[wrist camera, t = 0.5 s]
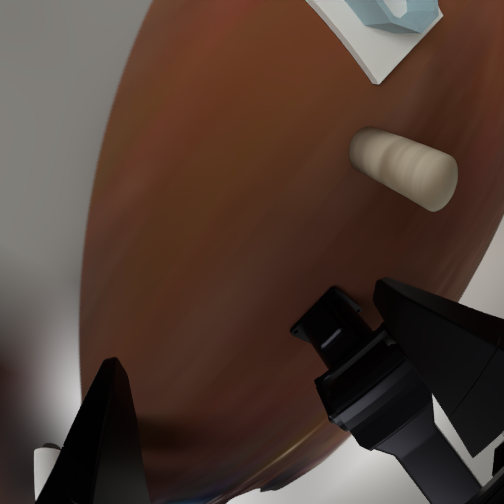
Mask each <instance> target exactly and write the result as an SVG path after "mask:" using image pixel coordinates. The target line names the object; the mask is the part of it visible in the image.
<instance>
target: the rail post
mask: <svg viewBox="0 0 504 504" xmlns="http://www.w3.org/2000/svg"><path fill="white" fill-rule="evenodd" d="M349 158H350V162H351V164H352V166H353V167H354V168H355V169H356V170H357V171H359V172H361V173H363V174H365V175H367V176H369V177H371V178H373V179H375V180H376V181H378V182H380V183H382V184H384V185H386V186H387V187H389V188H391V189H393V190H395V191H396V192H398V193H400V194H402V195H403V196H405V197H407V198H409V199H410V200H412V201H414V202H416V203H417V204H419V205H421V206H422V207H424V208H426V209H427V210H429V211H432V212H435V211H438V210H440V209H442V208H443V207H444V206H445V205H446V204H447V203H448V202H449V200H450V199H451V197H452V195H453V193H454V191H455V188H456V184H457V179H458V168H457V164H456V161H455V159H454V158H453V157H452V156H450V155H448V154H446V153H443V152H441V151H438V150H436V149H433V148H431V147H428V146H426V145H423V144H420V143H418V142H415V141H412V140H410V139H407V138H404V137H401V136H398V135H395V134H393V133H390V132H387V131H383V130H380V129H377V128H374V127H365V128H362V129H361V130H359V131H358V132H357V133H356V134H355V135H354V137H353V138H352V141H351V143H350V147H349Z"/></svg>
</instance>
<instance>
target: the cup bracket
mask: <svg viewBox="0 0 504 504" xmlns="http://www.w3.org/2000/svg"><path fill="white" fill-rule="evenodd" d="M306 1H307V3H308V4H309V5H310V6H311V7H312V8H313V9H314V10H315V11H316V12H317V13H318V15H319V16H320V17H321V18H322V19H323V20H324V21H325V23H326V24H327V25H328V26H329V27H330V28H331V30H332V31H333V32H334V33H335V34H336V36H337V37H338V38H339V39H340V41H341V42H342V43H343V44H344V46H345V47H346V48H347V49H348V51H349V52H350V53H351V55H352V56H353V57H354V59H355V60H356V61H357V63H358V64H359V65H360V67H361V68H362V69H363V71H364V72H365V74H366V75H367V76H368V78H369V79H370V81H371V82H372V84H380V83H381V82H382V81H383V80H384V79H385V77H386V76H387V75H388V74H389V73H390V72H391V71H392V70H393V69H394V68H395V67H396V66H397V65H398V63H399V62H400V61H401V60H402V59H403V58H404V57H405V56H406V55H407V54H408V53H409V52H410V51H411V50H412V48H413V47H414V46H415V45H416V44H417V43H418V42H419V41H420V40H421V39H422V38H423V37H424V36H425V35H426V34H427V33H428V31H429V30H430V29H431V28H432V27H433V26H434V25H435V24H436V23H437V22H438V21H439V20H440V19H441V18H442V17H443V14H442V12H441V11H440V9H439V7H438V0H306Z"/></svg>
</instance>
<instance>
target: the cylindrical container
mask: <svg viewBox="0 0 504 504" xmlns="http://www.w3.org/2000/svg"><path fill="white" fill-rule="evenodd" d="M60 451H61V450H57V449H52V448H39V449H36V450H35V451H34V479H35V496H36V497H35V498H36V500H37V498H38V496H39V494H40V492H41V490H42V488H43V486H44V484H45V483H46V481H47V479H48V477H49V475H50V473H51V471H52V469H53V467H54V464H55V462H56V460H57V458H58V456H59V453H60Z"/></svg>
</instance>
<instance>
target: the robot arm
mask: <svg viewBox="0 0 504 504" xmlns="http://www.w3.org/2000/svg"><path fill="white" fill-rule="evenodd" d="M373 301H374V304H375V306H376V308H377V309H378V311H379V313H380V314H381V316H382V318H383V320H384V322H383V323H382V324H380V327H379V328H377V329H376V330H375V331H373V330H372V329H371V328H370V327H369V326H368V324H367V323H366V322H365V321H364V320H363V319H362V317H361V316H360V315H359V313H360V312H361V311H362V308H361V307H360V306H359V305H358V304H357V303H355V302H354V301H353V300H352V299H350V298H349V297H348V296H346V295H345V294H344V293H343V292H341V291H340V290H339V289H337V288H336V287H331V288H330V289H329V290H328V291H327V292H326V293H325V294H324V295H323V296H322V297H321V298H320V299H319V300H318V302H317V303H316V304H315V305H314V306H313V307H312V308H311V309H310V310H309V311H308V312H307V313H306V314H305V315H304V316H303V317H302V318H301V319H300V320H299V321H298V322H297V323H296V324H295V325H294V326H293V327H292V328H291V329H290V332H291V334H292V335H293V336H295V337H298V338H300V339H302V340H304V341H306V342H309V343H311V344H312V345H313V347H314V348H315V350H316V351H317V353H318V354H319V356H320V357H321V359H322V360H323V362H324V363H325V365H326V366H327V368H328V369H329V370H328V371H327V372H326V373H324V374H323V375H322V376H320V377H318V378H316V379H315V380H314V382H315V384H316V386H317V387H316V389H317V391H318V393H319V396H320V398H321V400H322V403H323V405H324V407H325V409H326V412H327V415H328V419H329V421H330V422H331V423H333V424H337V425H338V426H339V427H340V428H341V429H343V430H344V431H346V432H348V431H350V432H351V434H352V435H353V436H354V437H355V439H356V441H357V442H358V444H359V445H360V446H361V447H363V448H365V449H368V450H370V451H372V450H373V449H375V450H378V451H382V452H385V453H387V454H391V455H393V456H395V457H396V459H397V460H398V461H399V463H400V464H401V465H402V466H403V468H404V469H405V471H406V472H407V473H408V475H409V476H410V477H411V479H412V480H413V481H414V483H415V484H416V485H417V486H418V488H419V489H420V490H421V492H422V493H423V494H424V496H425V497H426V498H427V500H428V501H429V502H430V504H504V440H503V441H502V442H501V443H500V444H499V446H497V447H496V448H495V451H494V463H493V471H492V476H493V478H492V479H491V480H490V481H489V482H488V483H487V484H486V485H485V486H484V487H483V486H482V484H481V483H480V482H479V481H478V479H477V478H476V476H475V475H474V474H473V473H472V471H471V470H470V468H469V467H468V466H467V464H466V463H465V462H464V460H463V459H462V458H461V456H460V455H459V454H458V452H457V451H456V450H455V448H454V447H453V446H452V444H451V443H450V442H449V441H448V439H447V438H446V437H445V435H444V434H443V433H442V432H441V430H440V429H439V428H438V426H437V425H436V424H435V422H434V410H433V399H432V394H433V395H434V397H435V398H436V400H437V402H438V403H439V405H440V406H441V408H442V409H443V411H444V412H445V414H446V416H447V417H449V418H448V419H449V421H450V422H451V424H452V425H453V427H454V428H455V430H456V432H457V434H458V435H459V437H460V438H461V440H462V442H463V443H464V445H465V447H466V448H467V450H468V452H469V453H470V455H471V456H472V458H474V457H475V456H476V455H477V454H479V453H480V452H481V451H482V450H483V449H484V448H486V447H487V446H488V445H489V444H490V443H491V442H492V441H494V440H495V439H496V438H497V437H498V436H499V435H500V434H501V433H502V434H503V436H504V319H502V318H498V317H496V316H492V315H489V314H486V313H483V312H481V311H478V310H475V309H473V308H469V307H467V306H464V305H462V304H459V303H457V302H454V301H451V300H449V299H446V298H443V297H441V296H438V295H435V294H433V293H430V292H427V291H424V290H422V289H419V288H416V287H414V286H411V285H408V284H405V283H403V282H400V281H397V280H394V279H391V278H389V277H384V278H381V279H379V280H377V281H376V284H375V290H374V295H373ZM63 445H64V447H62V449H61V451H60V453H59V456H58V458H57V460H56V462H55V464H54V467H53V469H52V471H51V473H50V475H49V477H48V479H47V481H46V483H45V484H44V486H43V488H42V490H41V492H40V494H39V496H38V498H37V500H36V502H35V504H150V500H149V494H148V489H147V484H146V478H145V473H144V466H143V460H142V453H141V446H140V439H139V431H138V423H137V417H136V413H135V408H134V404H133V399H132V394H131V389H130V384H129V379H128V376H127V373H126V371H125V370H124V368H123V366H122V365H121V363H120V361H119V360H118V358H117V357H112V358H107V359H105V360H104V361H103V362H102V364H101V366H100V368H99V370H98V372H97V374H96V376H95V378H94V380H93V382H92V384H91V386H90V388H89V390H88V392H87V394H86V396H85V398H84V400H83V403H82V405H81V407H80V409H79V411H78V413H77V415H76V417H75V420H74V422H73V424H72V426H71V428H70V431H69V433H68V435H67V437H66V440H65V442H64V444H63Z"/></svg>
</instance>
